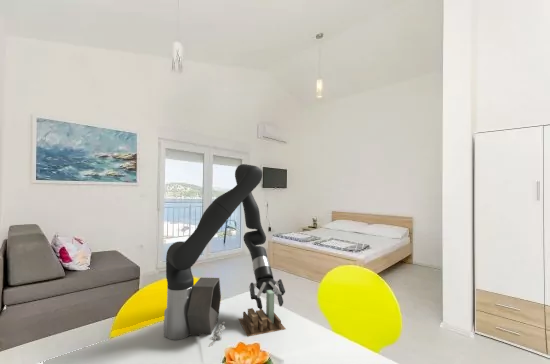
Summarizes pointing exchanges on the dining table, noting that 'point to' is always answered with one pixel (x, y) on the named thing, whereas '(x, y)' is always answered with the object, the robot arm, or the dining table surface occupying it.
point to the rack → (260, 325)
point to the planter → (204, 306)
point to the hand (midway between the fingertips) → (271, 307)
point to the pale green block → (270, 305)
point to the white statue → (217, 333)
